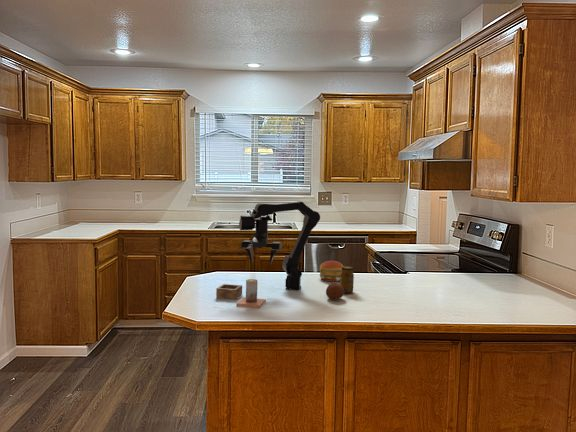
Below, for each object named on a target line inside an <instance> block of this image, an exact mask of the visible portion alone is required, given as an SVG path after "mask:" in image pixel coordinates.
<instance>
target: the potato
mask: <svg viewBox="0 0 576 432" xmlns="http://www.w3.org/2000/svg"><path fill="white" fill-rule="evenodd" d="M340 284H341V283H338V282H331V283H330V284H328V286H327V287H326V289H325V295H326V297H327V298H329V299H330V300H339V299H341V298H343V297H344V296H345V295H344V289H343V287H342V286H341V285H340Z"/></svg>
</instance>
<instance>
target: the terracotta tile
mask: <svg viewBox="0 0 576 432" xmlns="http://www.w3.org/2000/svg"><path fill="white" fill-rule="evenodd" d="M266 302H267V300H266V298H257V302H254V303H249V302H246V297H243V298H241V299H240V300H239V301H238V302H236V305H235V306H236V307H242V308H255V309H260V308H261V307H262V306H263V305H265V303H266Z"/></svg>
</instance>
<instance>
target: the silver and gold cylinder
mask: <svg viewBox="0 0 576 432" xmlns="http://www.w3.org/2000/svg"><path fill="white" fill-rule="evenodd" d="M245 298H246V302H249V303H254V302H257V299H258V279H254V278H249V279H246V280H245Z"/></svg>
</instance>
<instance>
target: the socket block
mask: <svg viewBox="0 0 576 432" xmlns="http://www.w3.org/2000/svg"><path fill="white" fill-rule="evenodd" d="M215 294H216V295H215V297H216V299H217V300H218V299H220V300H231V301H236V300H238V299H239V298H240V297H242V296H243V285H242V284H232V283H231V284H229V283H223V284H221V285H219V286H218V287H217V288H216V292H215Z"/></svg>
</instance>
